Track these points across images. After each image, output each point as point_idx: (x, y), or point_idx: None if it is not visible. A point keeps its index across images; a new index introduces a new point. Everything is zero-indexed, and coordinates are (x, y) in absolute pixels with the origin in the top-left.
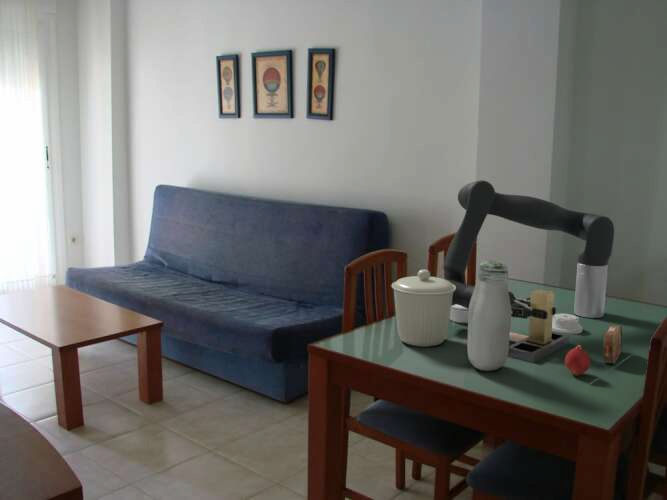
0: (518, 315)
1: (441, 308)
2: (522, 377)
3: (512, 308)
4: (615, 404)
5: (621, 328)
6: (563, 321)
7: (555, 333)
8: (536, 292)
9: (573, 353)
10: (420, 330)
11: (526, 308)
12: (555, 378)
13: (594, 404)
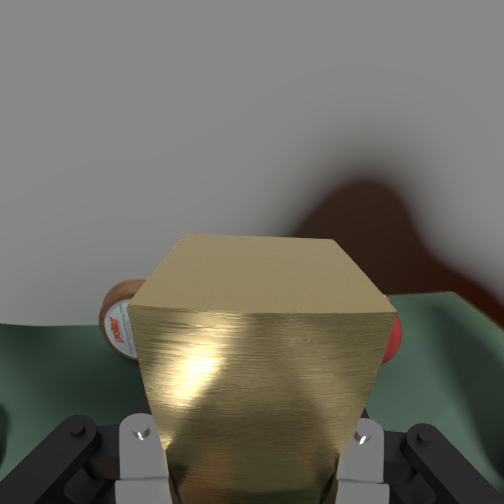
0: (434, 498)
1: None
2: (480, 407)
3: (499, 498)
4: (399, 303)
5: (108, 293)
6: None
7: None
8: (340, 282)
9: (396, 315)
10: None
11: (379, 469)
12: (418, 378)
13: (427, 313)
